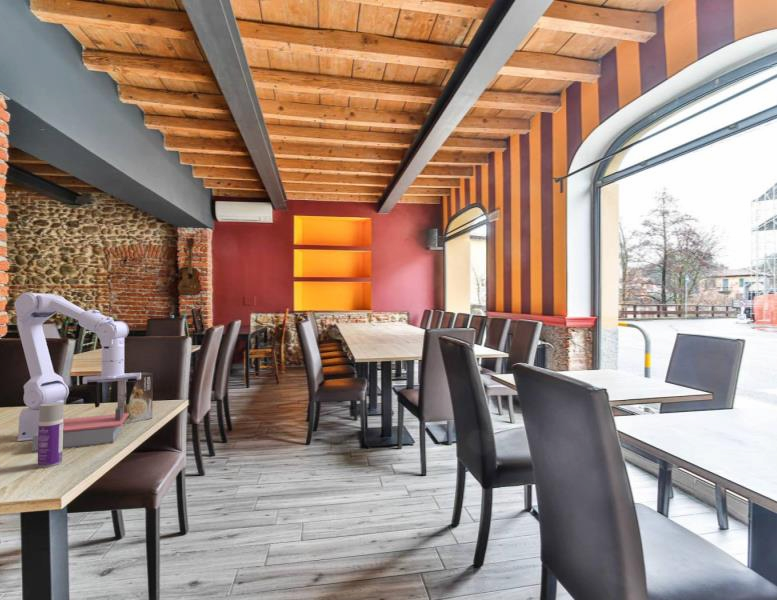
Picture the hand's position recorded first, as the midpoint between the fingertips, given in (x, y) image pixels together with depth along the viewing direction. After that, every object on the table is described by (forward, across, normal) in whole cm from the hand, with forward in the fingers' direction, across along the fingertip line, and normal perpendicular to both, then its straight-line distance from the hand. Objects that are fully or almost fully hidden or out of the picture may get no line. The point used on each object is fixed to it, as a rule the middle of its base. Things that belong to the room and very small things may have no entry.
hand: (112, 405), depth 119 cm
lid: (+5, -6, 0) cm, 8 cm away
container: (+10, -10, -19) cm, 24 cm away
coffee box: (+10, +4, +19) cm, 22 cm away
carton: (+9, -8, 0) cm, 12 cm away
